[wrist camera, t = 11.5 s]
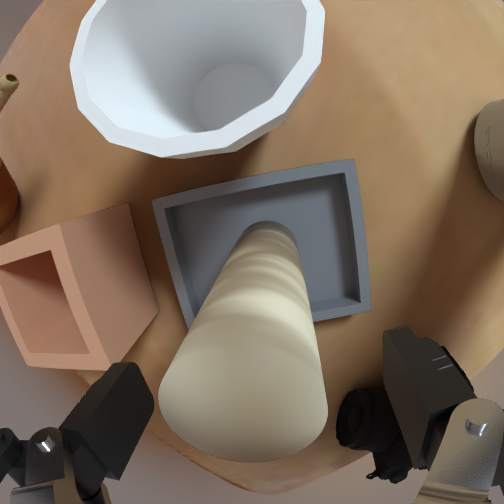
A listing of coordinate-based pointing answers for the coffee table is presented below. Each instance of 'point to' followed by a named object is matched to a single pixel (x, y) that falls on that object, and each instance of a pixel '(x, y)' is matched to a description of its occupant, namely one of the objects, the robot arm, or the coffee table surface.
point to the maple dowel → (250, 358)
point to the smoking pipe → (3, 186)
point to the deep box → (77, 291)
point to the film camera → (377, 430)
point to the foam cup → (194, 70)
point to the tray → (279, 210)
